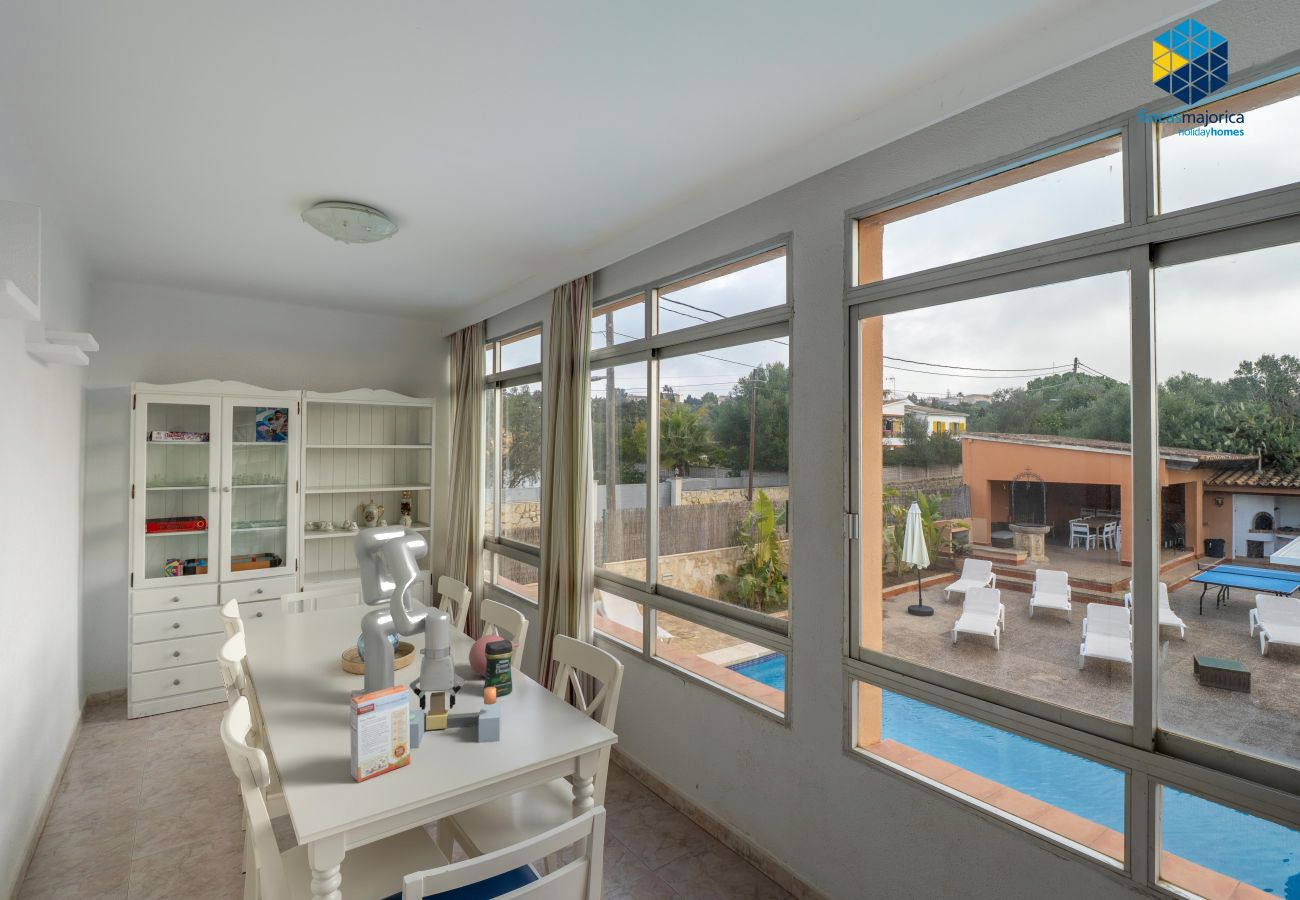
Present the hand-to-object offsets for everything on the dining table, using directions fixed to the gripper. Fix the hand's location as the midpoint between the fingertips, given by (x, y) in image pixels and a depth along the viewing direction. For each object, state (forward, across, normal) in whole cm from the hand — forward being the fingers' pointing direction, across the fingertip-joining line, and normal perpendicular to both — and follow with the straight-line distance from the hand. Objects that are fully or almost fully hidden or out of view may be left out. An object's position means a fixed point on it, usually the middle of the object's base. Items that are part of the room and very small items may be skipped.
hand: (437, 707), depth 194 cm
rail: (+6, +6, 0) cm, 8 cm away
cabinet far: (+6, +16, -8) cm, 19 cm away
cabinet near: (+6, -7, -8) cm, 12 cm away
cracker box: (+6, -12, -24) cm, 27 cm away
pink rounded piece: (+6, +16, +43) cm, 46 cm away
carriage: (+6, 0, 0) cm, 6 cm away
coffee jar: (+6, +18, +24) cm, 30 cm away
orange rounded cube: (-4, +16, -9) cm, 19 cm away
